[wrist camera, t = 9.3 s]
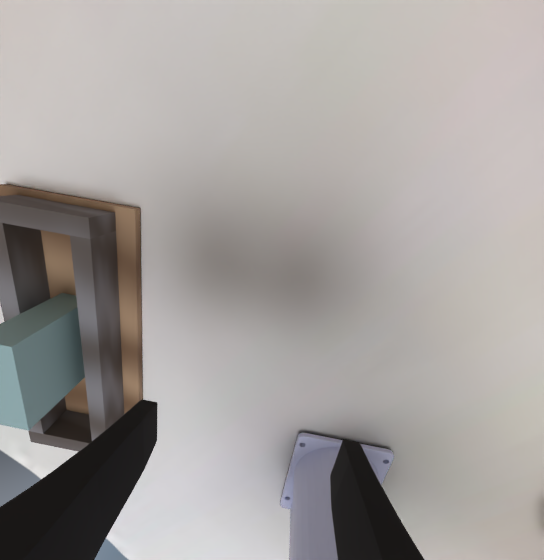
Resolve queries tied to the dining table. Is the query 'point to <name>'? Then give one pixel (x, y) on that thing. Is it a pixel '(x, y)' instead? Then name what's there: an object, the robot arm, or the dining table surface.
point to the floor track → (78, 299)
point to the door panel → (39, 360)
